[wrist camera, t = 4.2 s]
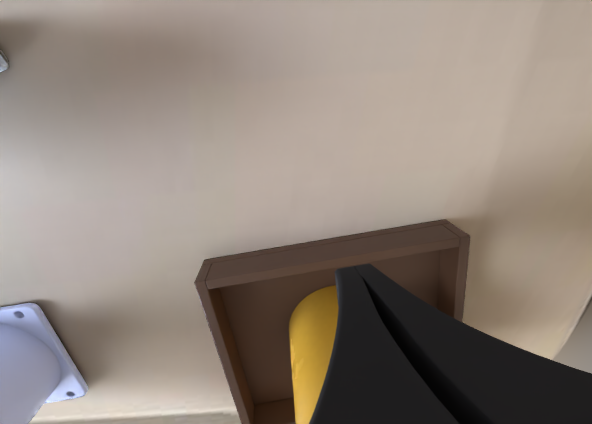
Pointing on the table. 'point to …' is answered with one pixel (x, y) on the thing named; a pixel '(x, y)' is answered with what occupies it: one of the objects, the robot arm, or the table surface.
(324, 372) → the pot
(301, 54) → the table surface
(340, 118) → the table surface
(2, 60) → the ink box
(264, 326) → the tray
